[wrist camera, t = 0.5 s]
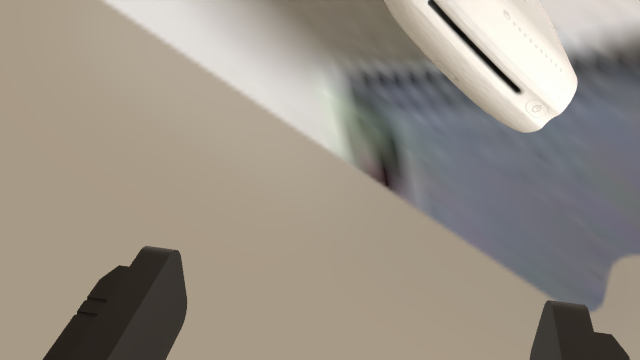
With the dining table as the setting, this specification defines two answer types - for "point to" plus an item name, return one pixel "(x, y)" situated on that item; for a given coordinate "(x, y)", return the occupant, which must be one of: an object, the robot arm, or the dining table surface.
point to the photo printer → (494, 55)
